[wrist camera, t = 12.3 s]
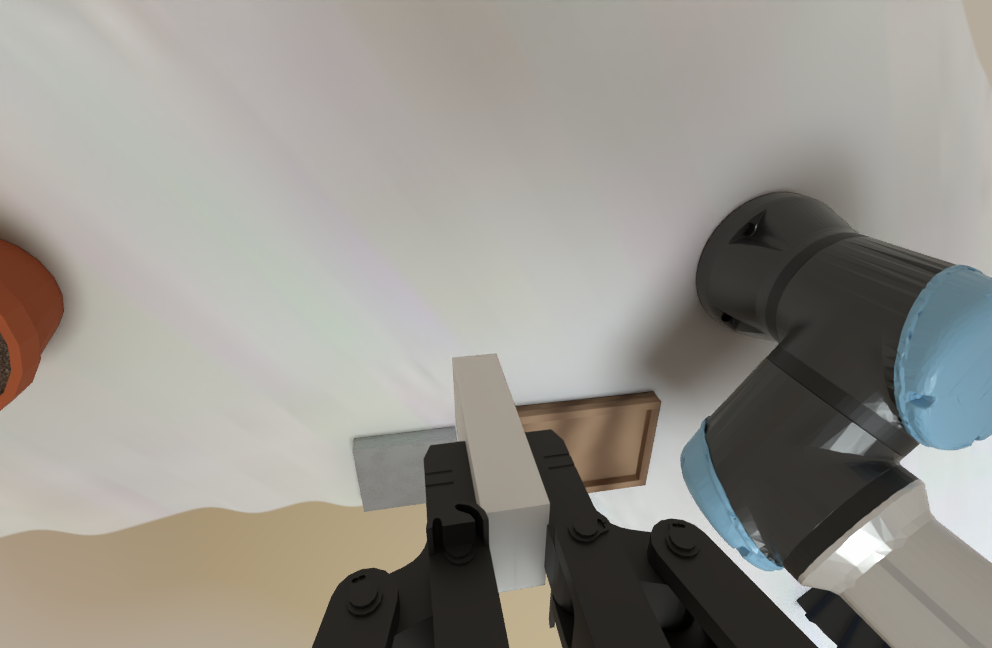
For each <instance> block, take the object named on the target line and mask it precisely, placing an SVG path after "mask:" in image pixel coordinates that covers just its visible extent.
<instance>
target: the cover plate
mask: <svg viewBox="0 0 992 648" xmlns="http://www.w3.org/2000/svg"><path fill="white" fill-rule="evenodd" d="M452 442H457V438H456V431H455V427H447V428H439V429H431V430H422V431H414V432H405V433H397V434H389V435H380V436H372V437H364V438H355V440H354V447H353V454H354V459H355V465H356V470H357V475H358V481H359V486H360V492H361V497H362V502H363V508H364V512H366V511H373V510H380V509H387V508H394V507H401V506H409V505H416V504H423V503H426V491H425V474H424V457H425V455H426V453H427V451H428V449H429V447H430V445H436V444H444V443H452Z"/></svg>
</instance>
